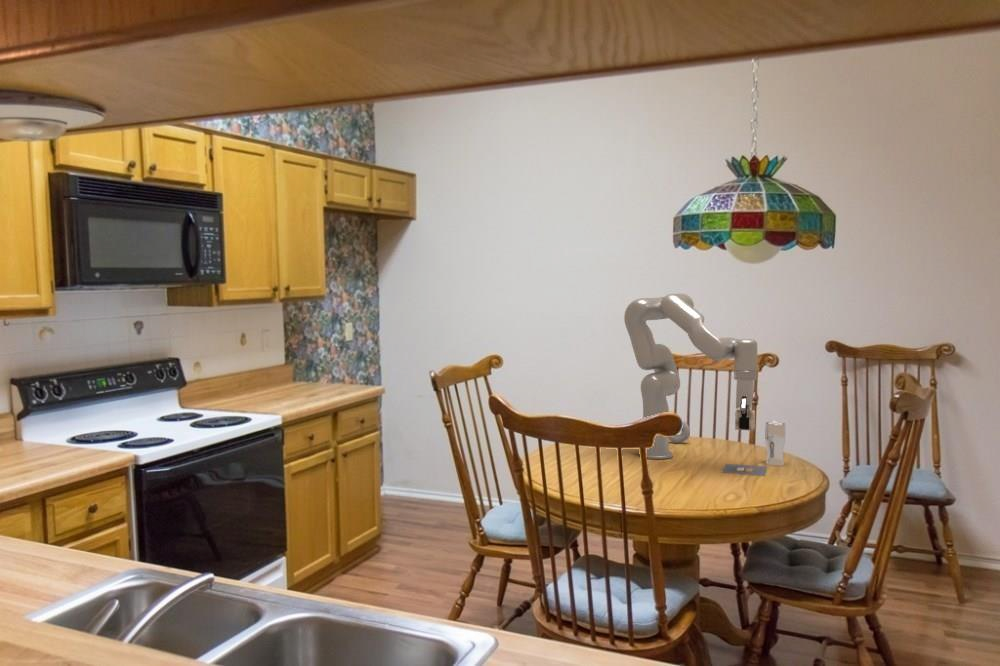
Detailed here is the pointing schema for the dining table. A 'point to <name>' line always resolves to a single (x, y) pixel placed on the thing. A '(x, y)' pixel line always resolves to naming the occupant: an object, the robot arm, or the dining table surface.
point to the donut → (683, 435)
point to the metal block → (751, 420)
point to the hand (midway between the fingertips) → (744, 426)
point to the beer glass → (775, 442)
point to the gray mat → (745, 469)
